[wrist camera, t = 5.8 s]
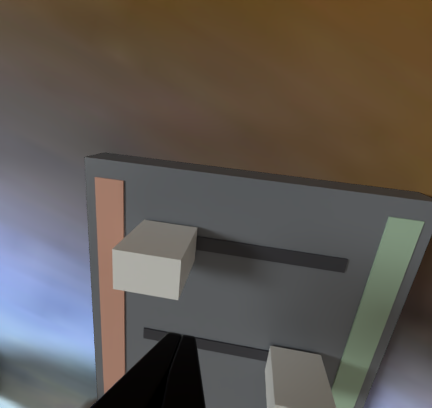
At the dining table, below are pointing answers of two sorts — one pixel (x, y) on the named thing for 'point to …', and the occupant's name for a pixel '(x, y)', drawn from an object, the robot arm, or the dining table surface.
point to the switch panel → (256, 272)
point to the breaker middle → (296, 380)
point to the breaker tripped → (154, 259)
